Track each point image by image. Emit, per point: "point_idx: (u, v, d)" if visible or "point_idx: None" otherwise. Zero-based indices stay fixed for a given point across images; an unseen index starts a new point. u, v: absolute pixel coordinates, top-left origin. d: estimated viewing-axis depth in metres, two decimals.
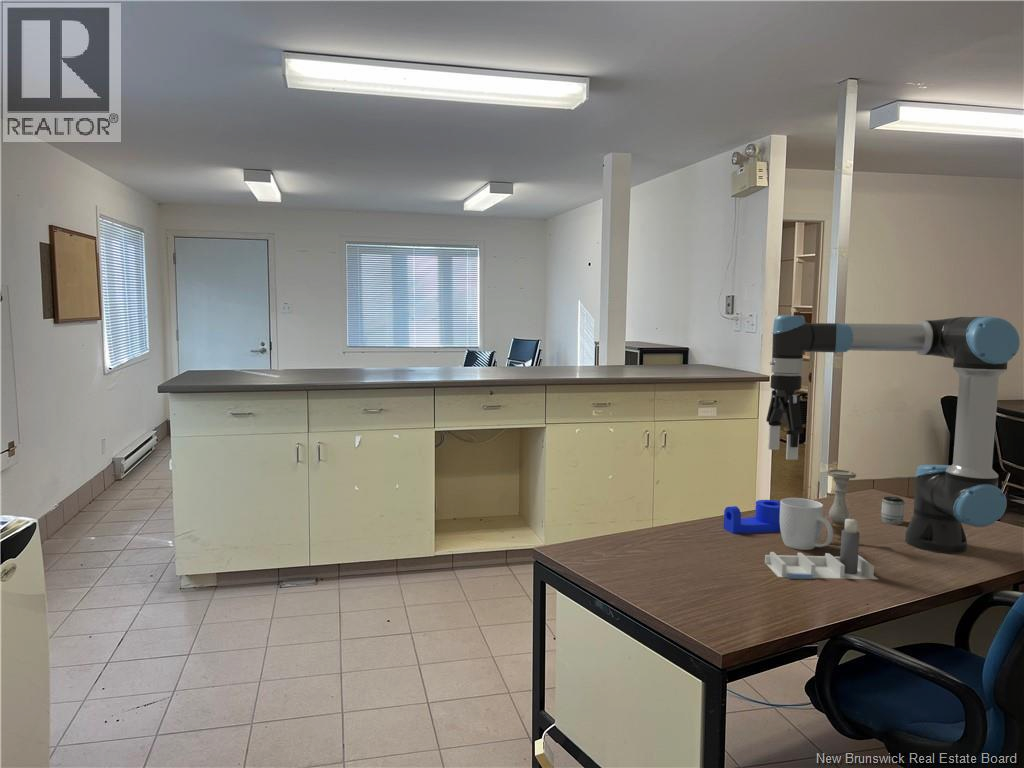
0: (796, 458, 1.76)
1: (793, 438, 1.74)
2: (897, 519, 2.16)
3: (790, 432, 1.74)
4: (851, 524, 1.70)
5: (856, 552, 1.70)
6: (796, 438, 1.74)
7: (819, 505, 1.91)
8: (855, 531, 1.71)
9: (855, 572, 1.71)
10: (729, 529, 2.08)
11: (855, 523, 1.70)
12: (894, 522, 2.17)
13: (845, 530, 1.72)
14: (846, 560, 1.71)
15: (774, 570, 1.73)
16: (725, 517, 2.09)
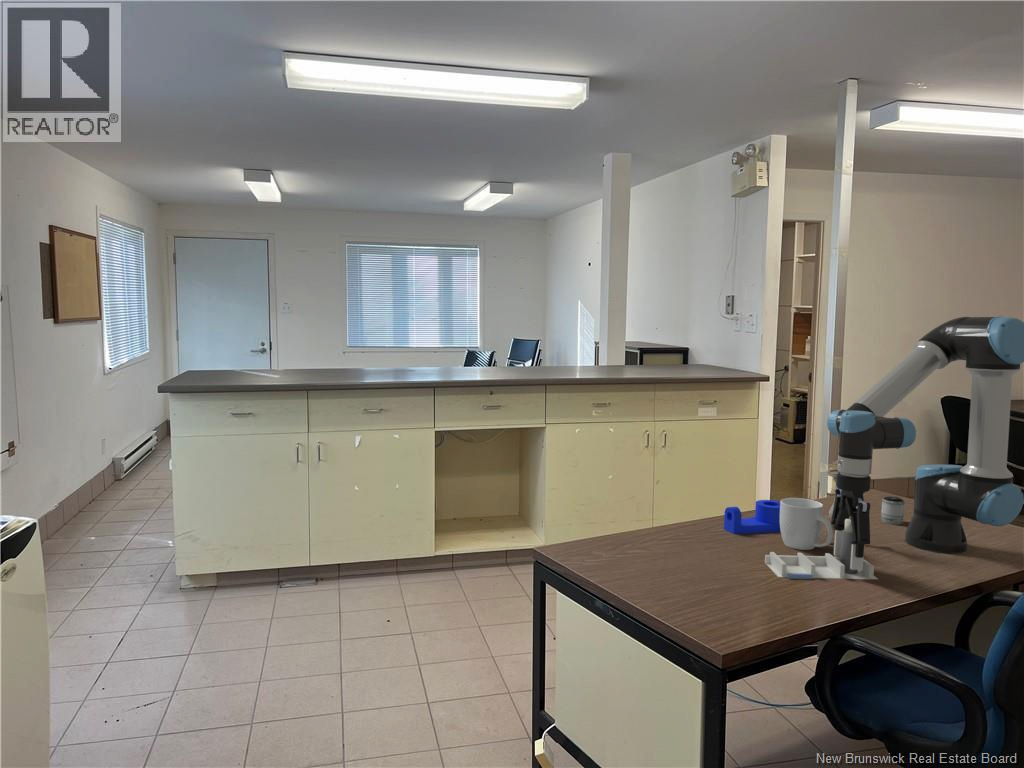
0: (861, 568, 1.68)
1: (859, 548, 1.66)
2: (897, 519, 2.16)
3: (855, 543, 1.66)
4: (851, 524, 1.70)
5: None
6: (862, 548, 1.66)
7: (819, 505, 1.91)
8: None
9: (855, 572, 1.71)
10: (730, 529, 2.07)
11: None
12: (894, 522, 2.17)
13: (845, 530, 1.72)
14: (846, 560, 1.71)
15: (774, 570, 1.73)
16: (725, 517, 2.09)
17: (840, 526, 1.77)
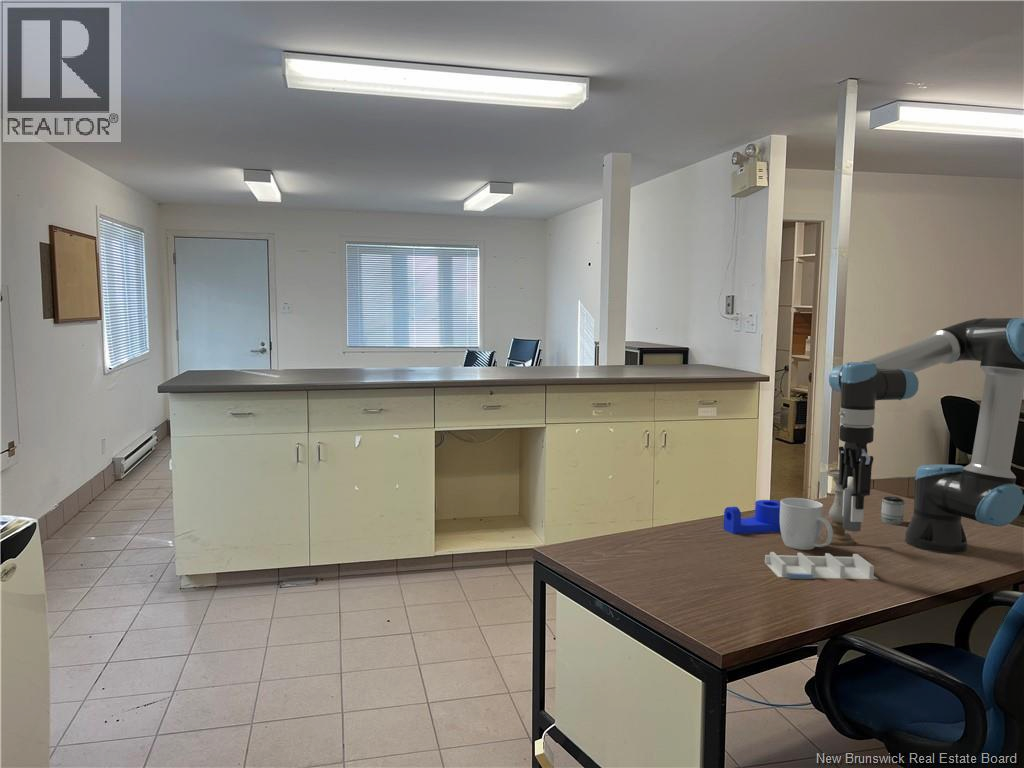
0: (861, 520, 1.69)
1: (859, 500, 1.67)
2: (897, 519, 2.16)
3: (855, 495, 1.67)
4: None
5: None
6: (862, 500, 1.67)
7: (819, 505, 1.91)
8: None
9: (858, 529, 1.70)
10: (729, 529, 2.07)
11: None
12: (894, 522, 2.17)
13: (848, 488, 1.71)
14: (849, 518, 1.70)
15: (774, 570, 1.73)
16: (725, 517, 2.09)
17: None
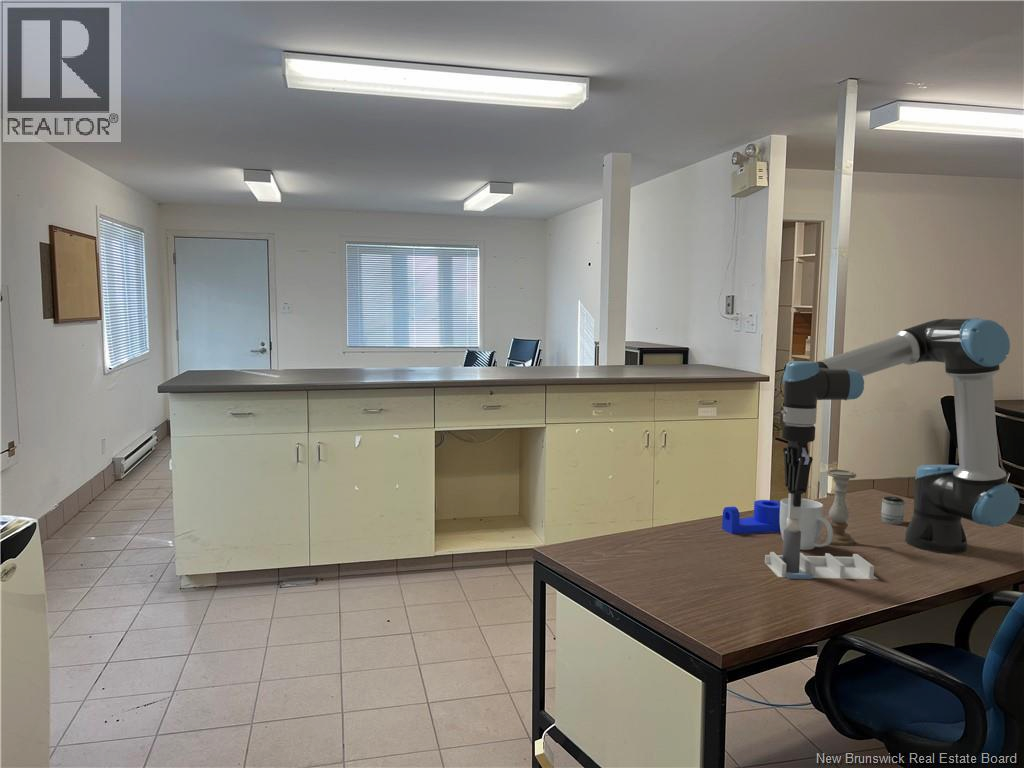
0: (799, 518, 1.71)
1: (796, 497, 1.70)
2: (897, 519, 2.16)
3: (792, 492, 1.70)
4: (792, 523, 1.71)
5: (797, 551, 1.71)
6: (799, 497, 1.70)
7: (819, 505, 1.91)
8: (796, 530, 1.71)
9: (797, 571, 1.71)
10: (728, 529, 2.07)
11: (796, 522, 1.71)
12: (894, 522, 2.17)
13: (787, 529, 1.72)
14: (787, 559, 1.71)
15: (774, 570, 1.73)
16: (724, 517, 2.09)
17: None
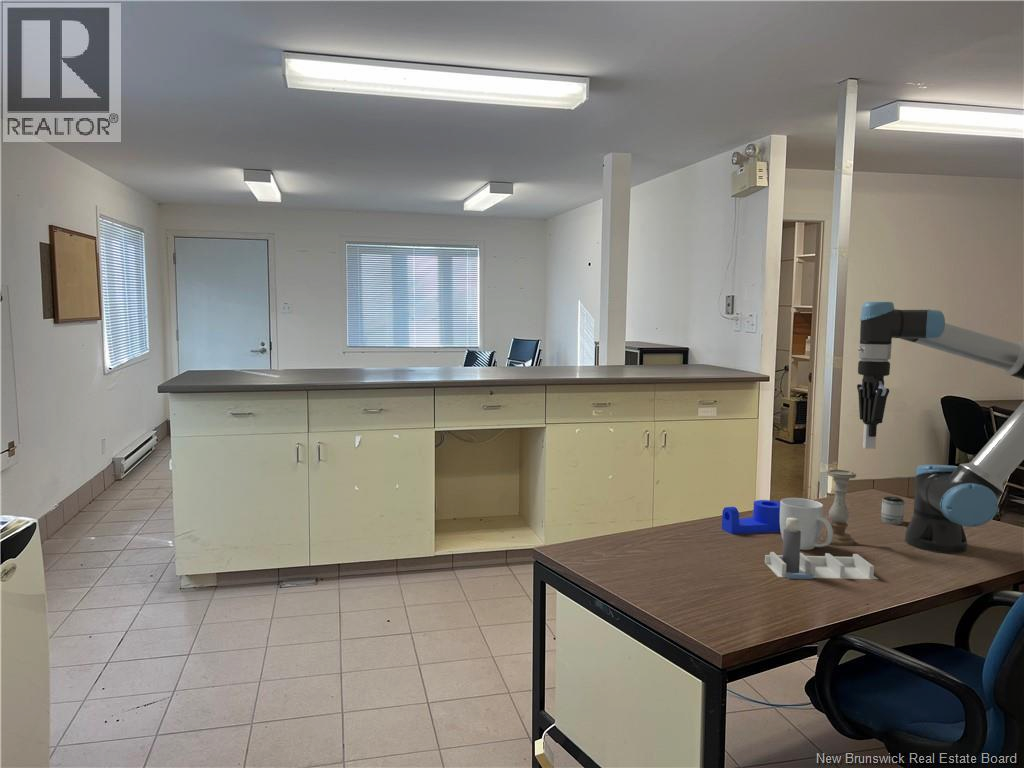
0: (874, 447, 1.85)
1: (872, 428, 1.83)
2: (897, 519, 2.16)
3: (868, 423, 1.83)
4: (792, 523, 1.71)
5: (797, 551, 1.71)
6: (874, 428, 1.83)
7: (819, 505, 1.91)
8: (796, 530, 1.71)
9: (797, 571, 1.71)
10: (727, 529, 2.07)
11: (796, 522, 1.71)
12: (894, 522, 2.17)
13: (786, 529, 1.72)
14: (787, 559, 1.71)
15: (774, 570, 1.73)
16: (723, 517, 2.09)
17: None
